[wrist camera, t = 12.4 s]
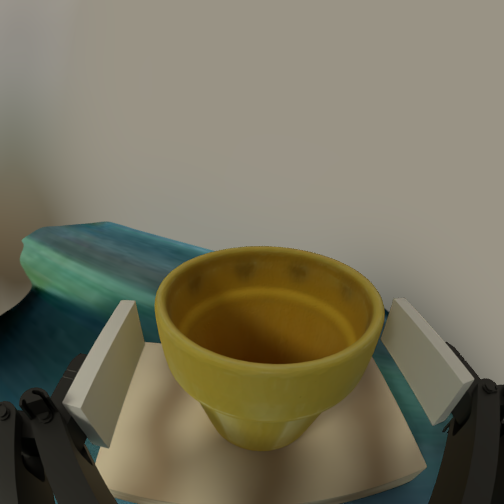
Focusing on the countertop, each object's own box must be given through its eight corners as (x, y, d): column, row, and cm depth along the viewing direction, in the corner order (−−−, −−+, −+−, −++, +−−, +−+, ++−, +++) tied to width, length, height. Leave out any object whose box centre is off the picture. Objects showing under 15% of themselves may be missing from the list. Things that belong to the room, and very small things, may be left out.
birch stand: (105, 494, 10) (89, 482, 9) (145, 361, 23) (140, 341, 22) (410, 481, 11) (427, 467, 10) (356, 359, 24) (363, 340, 23)
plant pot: (314, 499, 9) (386, 401, 6) (151, 436, 13) (103, 308, 10) (348, 379, 18) (382, 262, 15) (226, 347, 22) (224, 235, 18)
